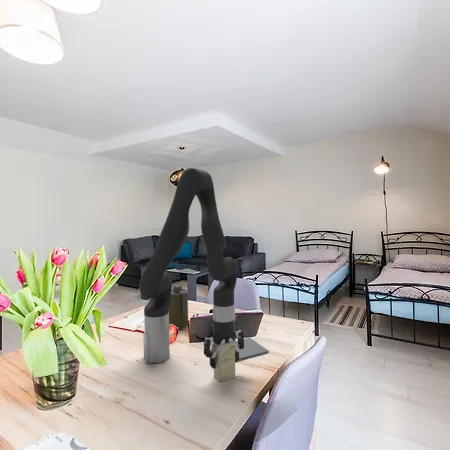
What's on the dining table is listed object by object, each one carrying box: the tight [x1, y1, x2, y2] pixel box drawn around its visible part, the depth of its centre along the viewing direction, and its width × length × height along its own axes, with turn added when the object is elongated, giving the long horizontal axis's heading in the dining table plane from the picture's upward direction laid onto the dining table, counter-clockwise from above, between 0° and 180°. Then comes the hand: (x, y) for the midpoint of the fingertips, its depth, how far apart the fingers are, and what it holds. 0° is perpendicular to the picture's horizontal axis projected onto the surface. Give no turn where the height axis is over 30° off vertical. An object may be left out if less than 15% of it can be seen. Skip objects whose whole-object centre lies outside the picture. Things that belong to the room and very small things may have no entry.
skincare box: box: [213, 340, 236, 382], centre depth 98 cm, size 6×4×12 cm
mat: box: [235, 337, 270, 362], centre depth 118 cm, size 14×14×1 cm
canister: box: [169, 284, 189, 330], centre depth 143 cm, size 11×10×20 cm
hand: (224, 364), depth 98 cm, fingers open, 8 cm apart
